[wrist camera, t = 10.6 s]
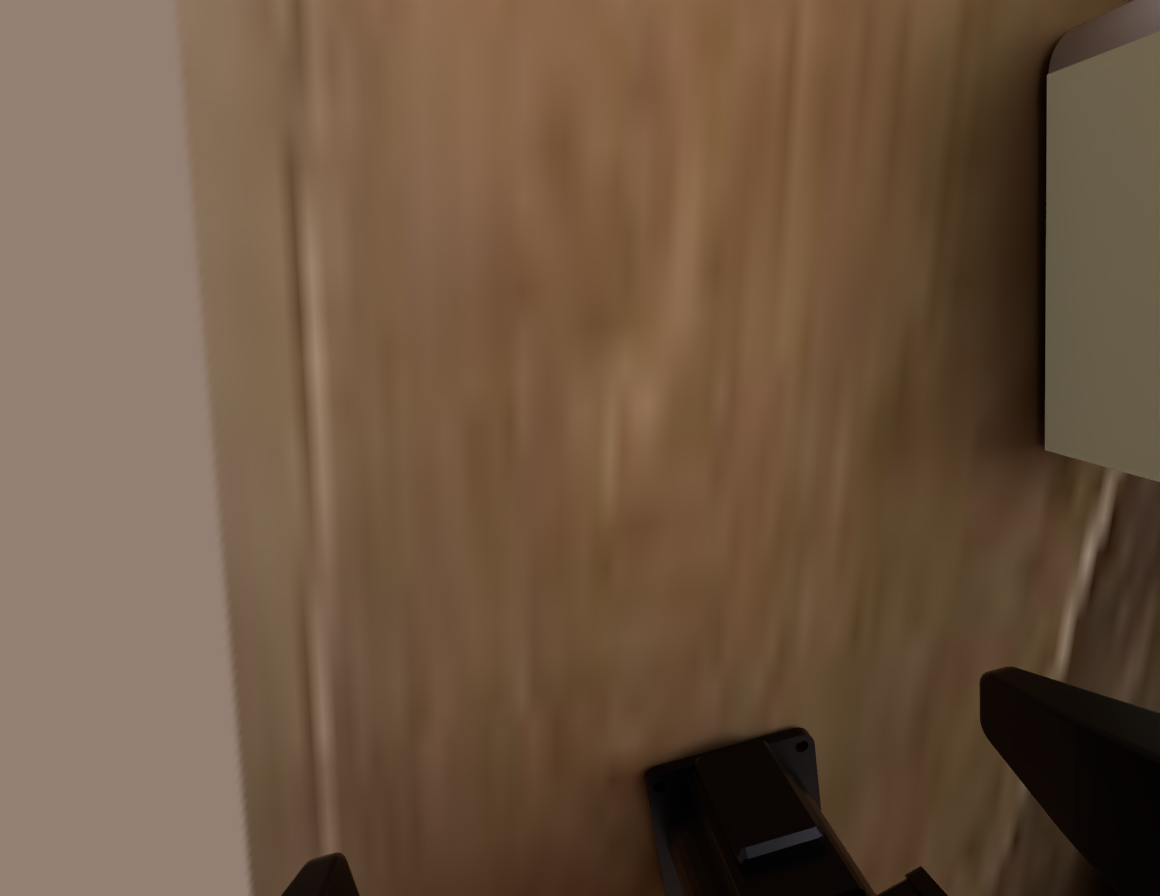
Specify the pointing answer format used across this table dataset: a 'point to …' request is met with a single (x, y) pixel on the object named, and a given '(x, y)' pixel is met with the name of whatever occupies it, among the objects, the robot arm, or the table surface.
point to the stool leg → (1104, 242)
